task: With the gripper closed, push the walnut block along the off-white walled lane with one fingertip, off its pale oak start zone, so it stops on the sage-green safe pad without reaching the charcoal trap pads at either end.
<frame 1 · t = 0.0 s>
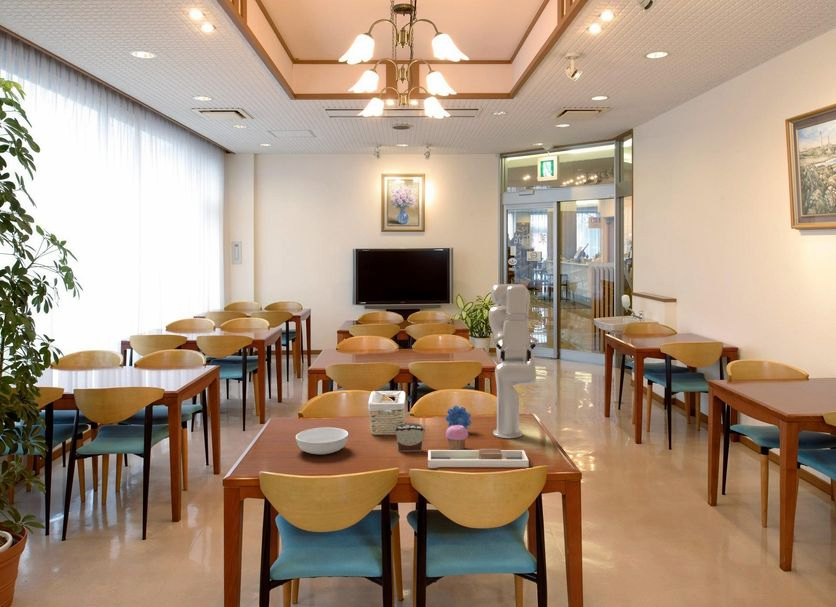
hand: (515, 360, 252), 37 cm above the table, tool pointing down, fingers open, 9 cm apart
walnut block: (490, 461, 242), resting on trap box
trap box: (477, 462, 243), on the table
cupcake: (456, 450, 259), on the table
serving bowl: (322, 451, 258), on the table
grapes: (459, 433, 283), on the table
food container: (409, 449, 260), on the table
storage basket: (387, 428, 290), on the table
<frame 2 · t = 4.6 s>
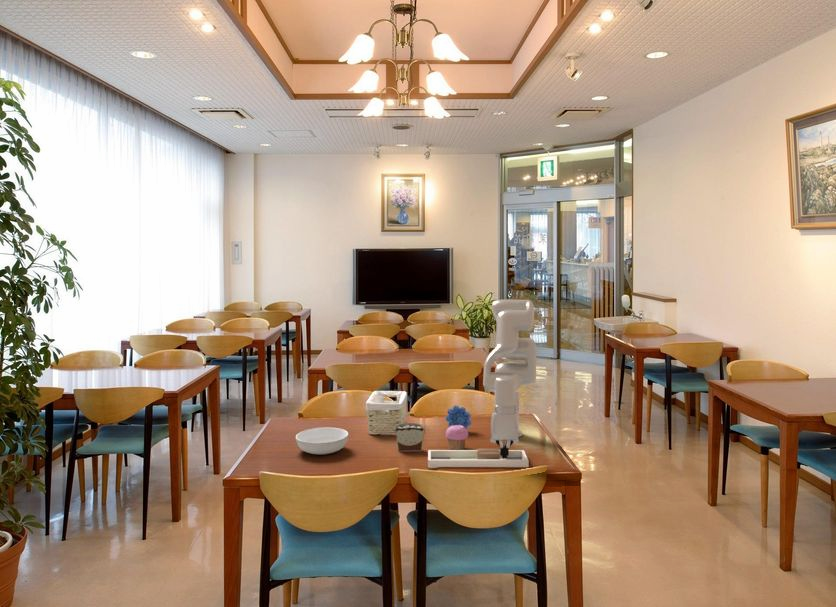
hand: (504, 457, 242), 2 cm above the table, tool pointing down, fingers closed
walnut block: (488, 461, 242), point 1 cm above the table, touching gripper
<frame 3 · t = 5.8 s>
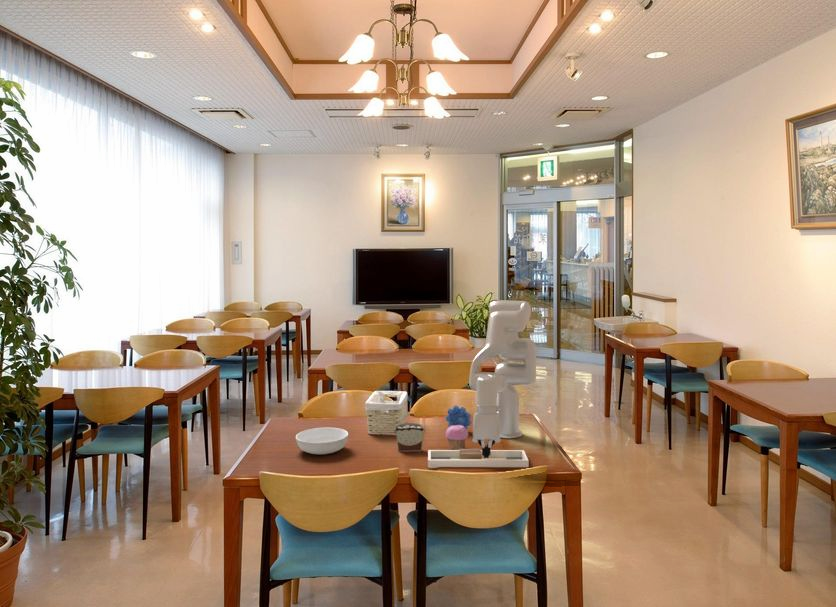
hand: (486, 457, 242), 2 cm above the table, tool pointing down, fingers closed
walnut block: (470, 461, 243), point 1 cm above the table, touching gripper, trap box
everything else where it was.
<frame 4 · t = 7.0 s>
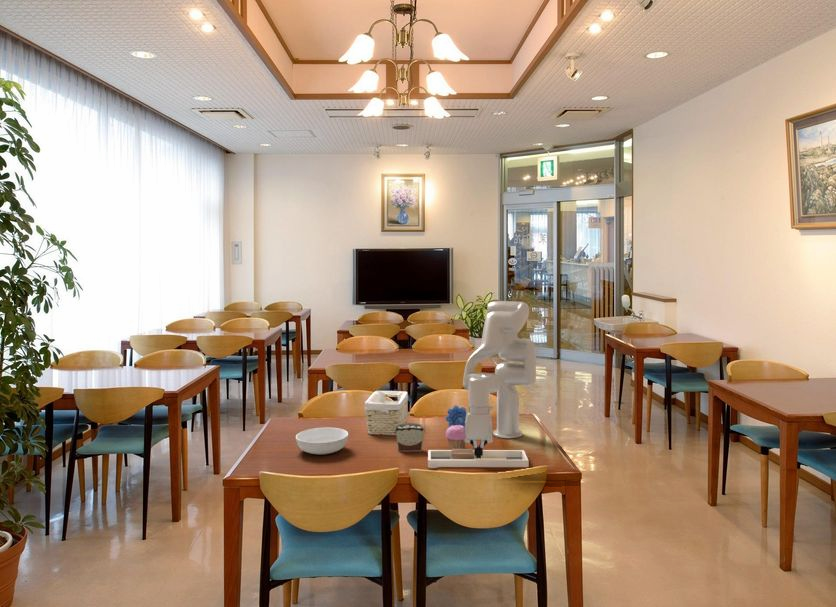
hand: (478, 457, 242), 2 cm above the table, tool pointing down, fingers closed
walnut block: (462, 461, 243), resting on trap box, touching gripper
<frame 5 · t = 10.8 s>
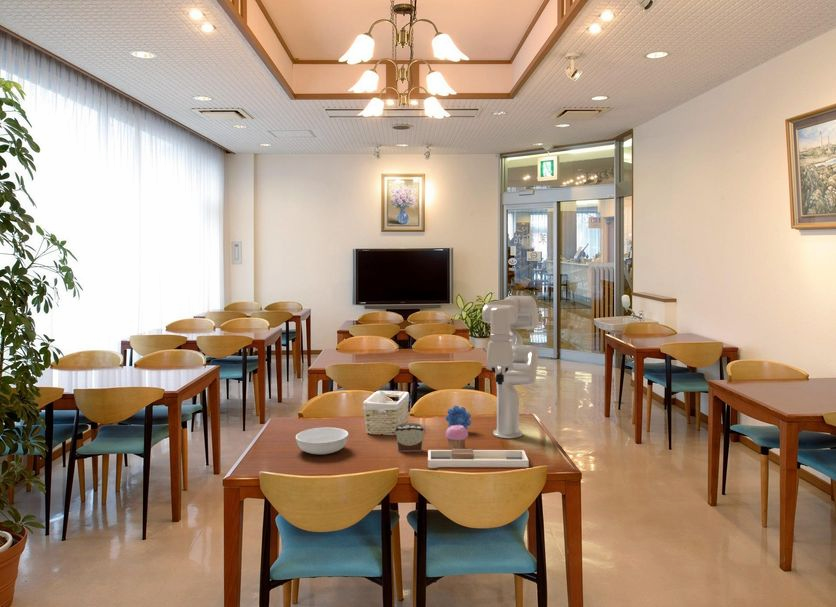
hand: (499, 383, 255), 27 cm above the table, tool pointing down, fingers closed
walnut block: (462, 461, 243), resting on trap box
at the end: walnut block 0.5 cm from the target spot on the trap box, point 0.5 cm above the trap box's base; walnut block tilted 0°; walnut block moved 10.5 cm from its start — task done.
